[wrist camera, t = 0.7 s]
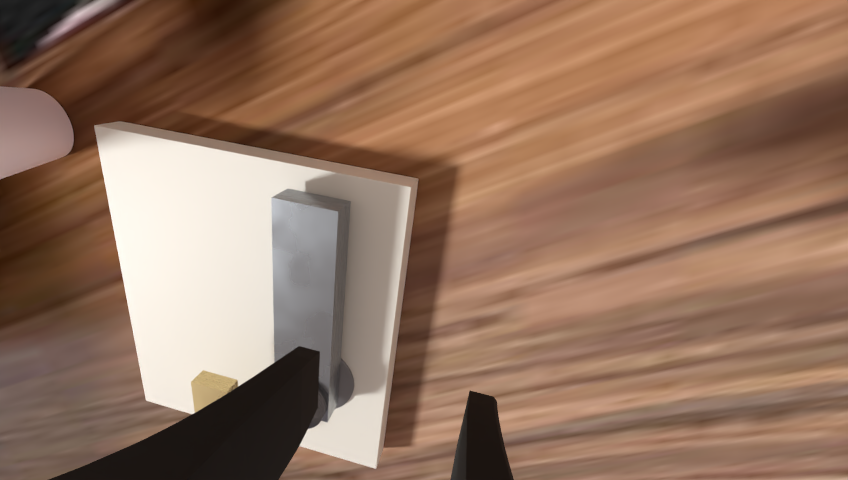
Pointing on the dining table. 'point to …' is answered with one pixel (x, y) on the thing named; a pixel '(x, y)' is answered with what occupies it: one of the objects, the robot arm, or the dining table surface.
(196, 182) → the base board
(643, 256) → the dining table surface
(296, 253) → the latch bar
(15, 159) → the smoothie
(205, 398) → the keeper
